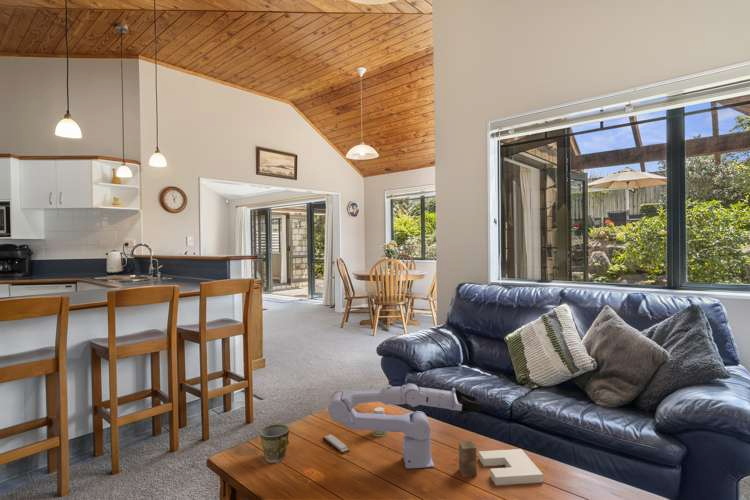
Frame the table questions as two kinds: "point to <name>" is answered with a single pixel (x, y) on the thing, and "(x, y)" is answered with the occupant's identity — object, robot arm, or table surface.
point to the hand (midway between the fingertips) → (478, 404)
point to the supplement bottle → (379, 411)
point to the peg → (467, 459)
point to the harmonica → (336, 444)
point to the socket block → (511, 467)
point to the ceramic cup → (274, 442)
